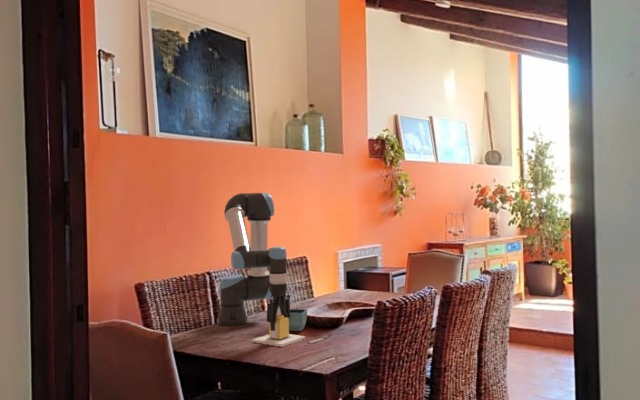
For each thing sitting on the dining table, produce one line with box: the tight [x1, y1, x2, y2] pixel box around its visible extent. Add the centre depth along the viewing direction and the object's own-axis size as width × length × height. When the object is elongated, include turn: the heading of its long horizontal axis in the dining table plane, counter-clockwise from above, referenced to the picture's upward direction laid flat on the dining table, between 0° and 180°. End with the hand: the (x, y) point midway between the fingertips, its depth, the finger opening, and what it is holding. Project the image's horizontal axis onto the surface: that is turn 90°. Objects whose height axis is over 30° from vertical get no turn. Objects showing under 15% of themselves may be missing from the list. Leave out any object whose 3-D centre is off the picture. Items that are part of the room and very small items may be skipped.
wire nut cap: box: [268, 314, 290, 339], centre depth 253 cm, size 6×6×9 cm
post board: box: [252, 333, 306, 348], centre depth 253 cm, size 16×16×6 cm
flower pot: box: [289, 308, 308, 332], centre depth 273 cm, size 9×9×9 cm
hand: (279, 336), depth 253 cm, fingers closed on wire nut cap, 6 cm apart
